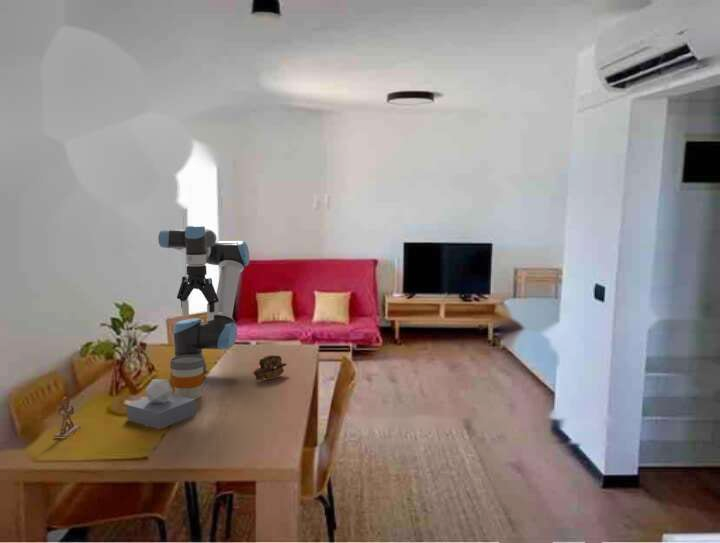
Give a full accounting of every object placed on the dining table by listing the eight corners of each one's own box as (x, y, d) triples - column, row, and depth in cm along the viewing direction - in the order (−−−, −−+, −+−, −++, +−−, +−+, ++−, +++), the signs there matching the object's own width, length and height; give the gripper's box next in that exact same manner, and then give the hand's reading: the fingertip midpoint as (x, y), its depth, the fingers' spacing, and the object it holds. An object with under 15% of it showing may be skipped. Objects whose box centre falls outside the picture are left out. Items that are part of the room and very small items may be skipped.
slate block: (127, 421, 196) (126, 404, 195) (164, 407, 210) (163, 391, 209) (159, 430, 188) (158, 413, 187) (195, 415, 202) (195, 399, 201)
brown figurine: (69, 427, 189) (67, 392, 188) (80, 428, 189) (78, 393, 187) (53, 438, 180) (51, 401, 179) (65, 439, 180) (63, 402, 179)
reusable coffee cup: (211, 396, 220) (210, 358, 219) (182, 404, 211) (180, 365, 210) (194, 389, 229) (193, 352, 227) (165, 396, 220) (163, 358, 218)
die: (156, 410, 192) (173, 385, 194) (136, 396, 193) (153, 371, 195) (164, 410, 200) (180, 386, 202) (144, 396, 201) (161, 373, 203)
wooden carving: (260, 384, 235) (259, 361, 234) (252, 382, 238) (252, 359, 237) (288, 375, 248) (288, 352, 247) (281, 373, 251) (280, 351, 250)
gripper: (166, 264, 226) (168, 316, 229) (212, 267, 214) (214, 323, 217) (181, 262, 233) (182, 313, 235) (227, 266, 221) (228, 320, 223)
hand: (198, 318), depth 226 cm, fingers open, 13 cm apart
